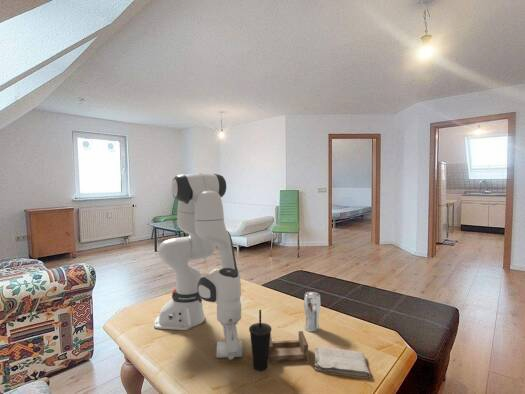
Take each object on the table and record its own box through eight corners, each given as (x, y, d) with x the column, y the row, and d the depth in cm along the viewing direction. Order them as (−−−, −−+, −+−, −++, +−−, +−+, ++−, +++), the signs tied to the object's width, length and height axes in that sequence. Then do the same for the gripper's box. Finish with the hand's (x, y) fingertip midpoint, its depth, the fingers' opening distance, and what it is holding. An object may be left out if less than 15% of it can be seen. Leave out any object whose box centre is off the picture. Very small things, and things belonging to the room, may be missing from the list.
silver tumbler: (310, 322, 125) (310, 290, 124) (323, 328, 120) (323, 294, 119) (300, 328, 120) (301, 294, 119) (314, 334, 115) (314, 299, 114)
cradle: (268, 363, 97) (268, 346, 97) (266, 347, 106) (266, 332, 106) (307, 361, 98) (307, 344, 98) (302, 346, 107) (302, 331, 107)
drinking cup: (249, 360, 99) (248, 305, 98) (270, 359, 100) (270, 304, 98) (249, 375, 91) (249, 316, 90) (272, 373, 92) (272, 315, 91)
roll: (216, 358, 98) (216, 341, 100) (217, 356, 103) (218, 341, 105) (241, 357, 98) (241, 341, 100) (242, 356, 103) (242, 340, 105)
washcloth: (314, 352, 104) (314, 344, 104) (364, 357, 101) (364, 349, 101) (314, 373, 93) (314, 364, 92) (370, 380, 89) (370, 371, 89)
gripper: (242, 327, 92) (242, 367, 92) (234, 301, 111) (234, 334, 112) (223, 329, 90) (223, 370, 91) (218, 302, 110) (218, 336, 111)
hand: (229, 350), depth 102 cm, fingers open, 8 cm apart
